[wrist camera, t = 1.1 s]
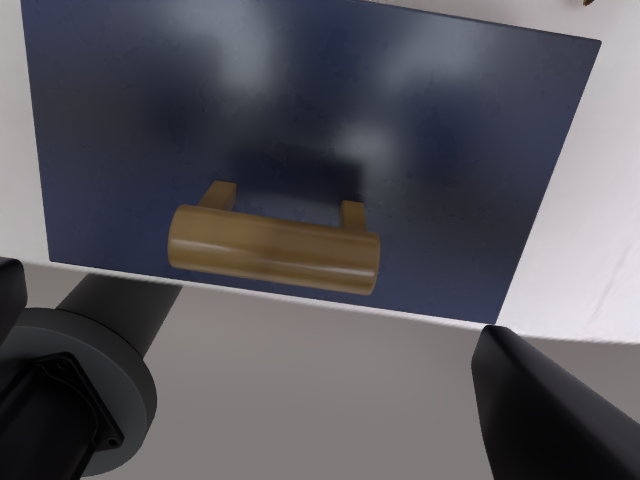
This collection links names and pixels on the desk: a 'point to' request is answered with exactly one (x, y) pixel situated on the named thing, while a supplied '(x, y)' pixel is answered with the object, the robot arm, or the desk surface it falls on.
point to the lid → (299, 145)
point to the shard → (587, 2)
